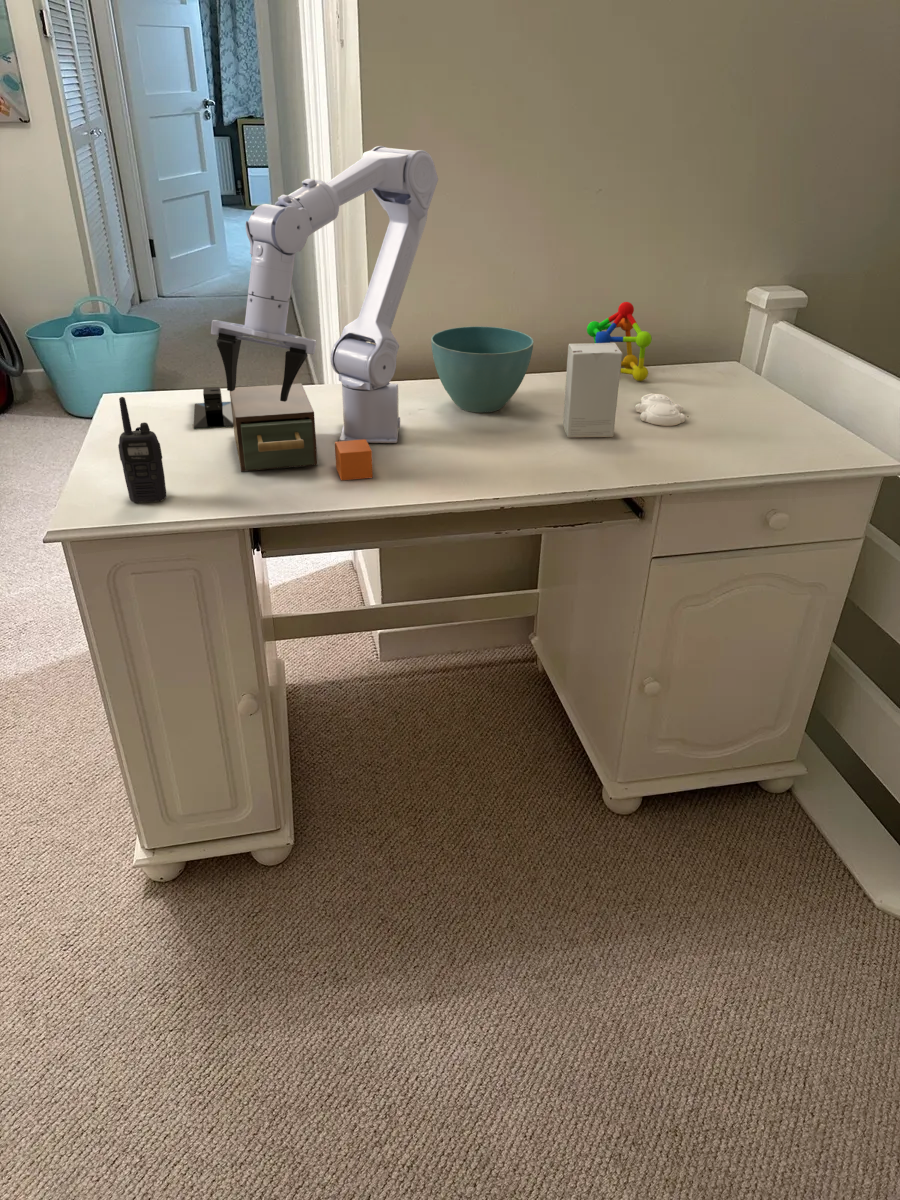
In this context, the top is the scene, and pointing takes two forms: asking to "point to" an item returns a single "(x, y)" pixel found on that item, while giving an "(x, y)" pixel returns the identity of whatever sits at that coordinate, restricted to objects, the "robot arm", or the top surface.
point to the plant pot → (481, 365)
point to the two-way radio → (141, 461)
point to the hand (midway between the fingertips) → (257, 395)
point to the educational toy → (624, 339)
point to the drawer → (277, 443)
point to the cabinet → (268, 411)
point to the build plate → (212, 411)
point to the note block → (353, 459)
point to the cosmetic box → (591, 389)
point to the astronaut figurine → (660, 410)
